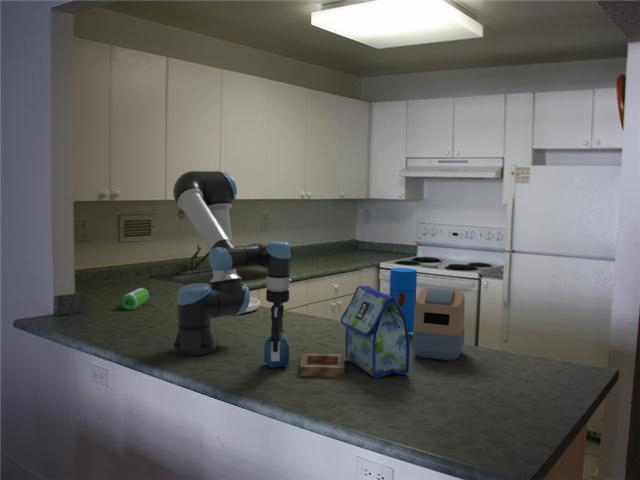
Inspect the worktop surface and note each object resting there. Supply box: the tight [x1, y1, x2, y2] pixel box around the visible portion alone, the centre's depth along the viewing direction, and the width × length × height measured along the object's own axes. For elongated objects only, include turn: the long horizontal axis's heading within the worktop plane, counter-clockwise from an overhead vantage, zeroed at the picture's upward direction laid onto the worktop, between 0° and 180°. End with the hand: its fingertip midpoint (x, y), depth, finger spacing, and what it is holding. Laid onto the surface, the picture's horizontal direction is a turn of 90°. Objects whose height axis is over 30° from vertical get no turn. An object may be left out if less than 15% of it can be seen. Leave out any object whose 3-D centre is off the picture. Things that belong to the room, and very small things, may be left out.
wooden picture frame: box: [299, 353, 346, 378], centre depth 198 cm, size 14×14×3 cm
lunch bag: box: [340, 285, 411, 379], centre depth 199 cm, size 22×17×26 cm
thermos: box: [388, 267, 418, 334], centre depth 249 cm, size 11×11×25 cm
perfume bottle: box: [263, 327, 290, 368], centre depth 200 cm, size 6×6×12 cm
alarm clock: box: [412, 287, 465, 362], centre depth 215 cm, size 17×17×23 cm
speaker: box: [120, 287, 150, 311], centre depth 283 cm, size 18×7×8 cm, turn 175°
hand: (276, 356), depth 200 cm, fingers closed on perfume bottle, 8 cm apart
